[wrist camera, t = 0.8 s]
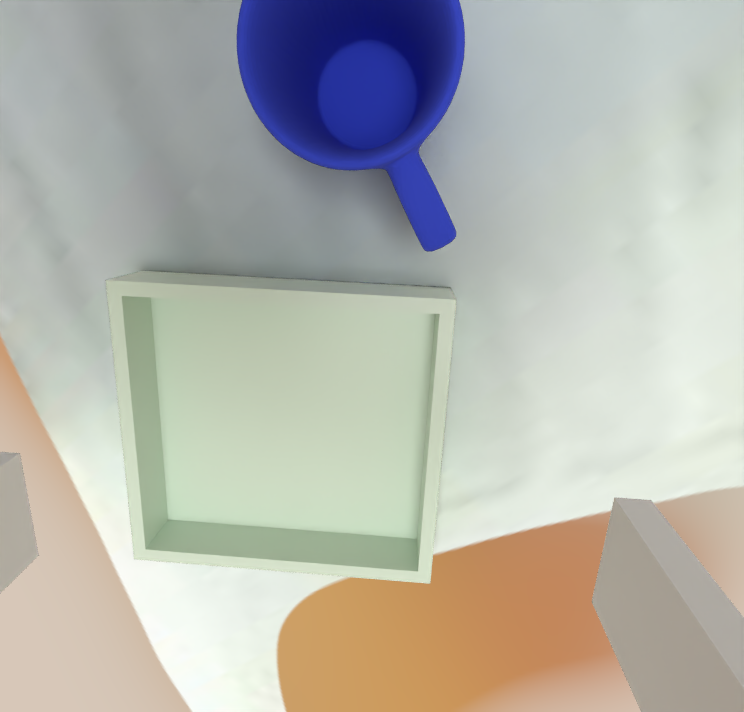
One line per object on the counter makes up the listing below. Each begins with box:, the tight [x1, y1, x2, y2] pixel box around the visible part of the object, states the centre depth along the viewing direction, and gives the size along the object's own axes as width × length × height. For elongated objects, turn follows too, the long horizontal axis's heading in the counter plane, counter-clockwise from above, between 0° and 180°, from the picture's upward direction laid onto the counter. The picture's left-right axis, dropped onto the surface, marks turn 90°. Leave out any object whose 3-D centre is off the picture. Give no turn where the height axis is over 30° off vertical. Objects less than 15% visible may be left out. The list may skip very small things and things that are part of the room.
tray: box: [106, 271, 457, 583], centre depth 32 cm, size 18×19×4 cm
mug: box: [237, 0, 465, 251], centre depth 24 cm, size 8×12×10 cm
